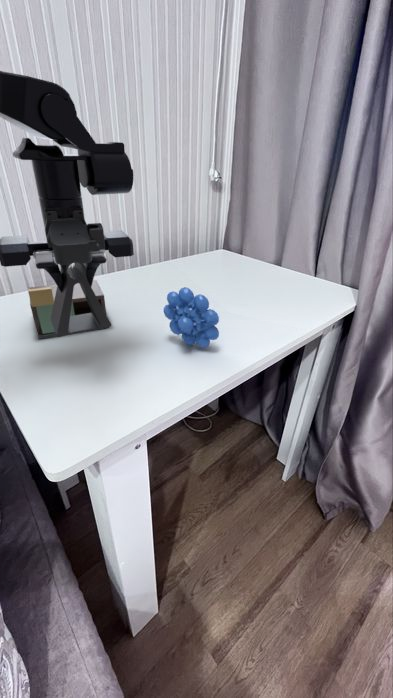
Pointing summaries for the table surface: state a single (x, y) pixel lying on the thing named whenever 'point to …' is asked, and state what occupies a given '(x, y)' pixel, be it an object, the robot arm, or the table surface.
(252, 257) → the table surface
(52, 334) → the cabinet
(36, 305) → the door
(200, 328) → the grapes
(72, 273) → the phone stand
